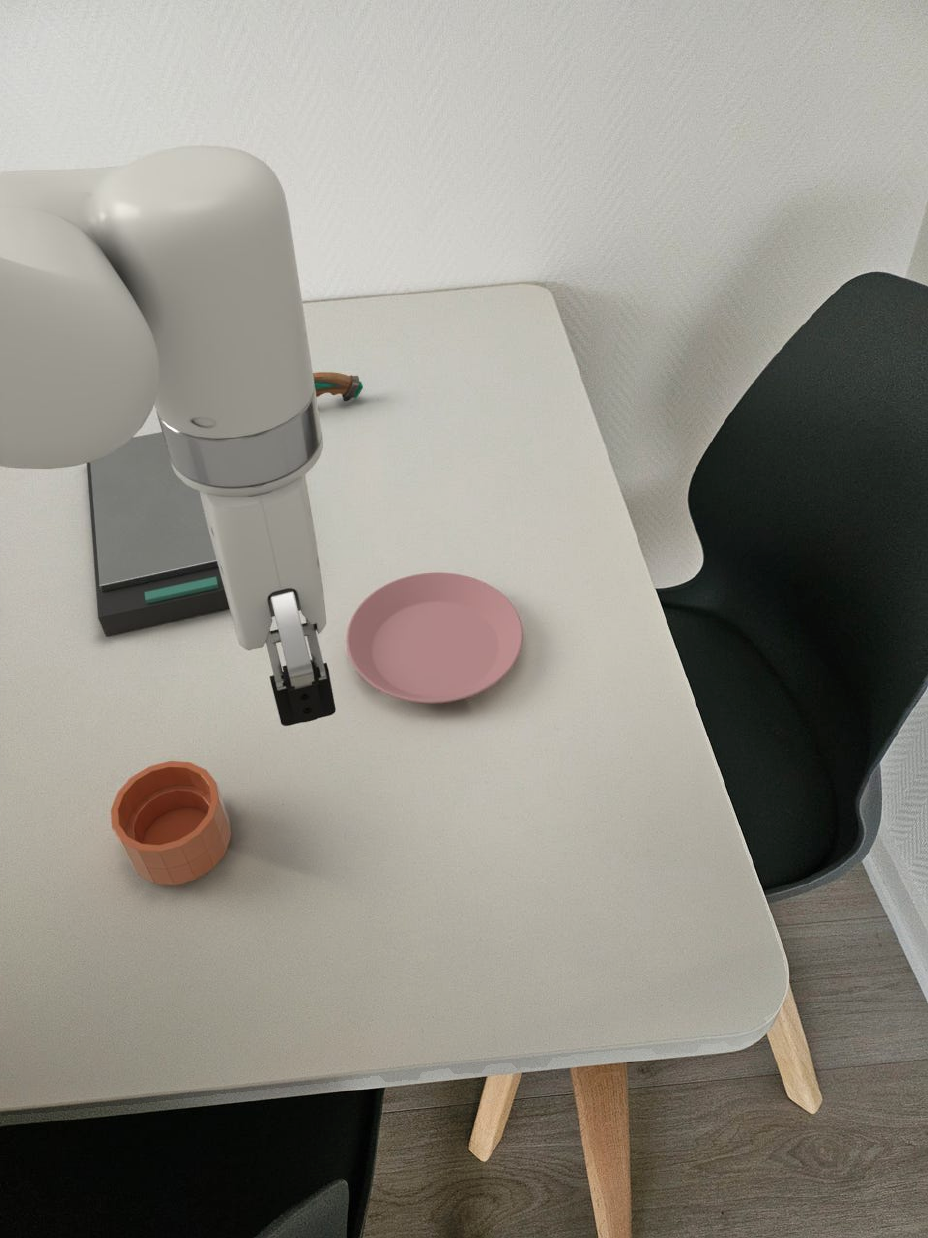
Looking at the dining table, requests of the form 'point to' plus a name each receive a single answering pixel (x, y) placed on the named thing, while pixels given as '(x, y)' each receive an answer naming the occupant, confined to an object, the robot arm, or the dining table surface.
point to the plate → (434, 637)
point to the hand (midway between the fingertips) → (293, 657)
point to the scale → (149, 541)
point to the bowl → (171, 822)
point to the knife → (337, 384)
